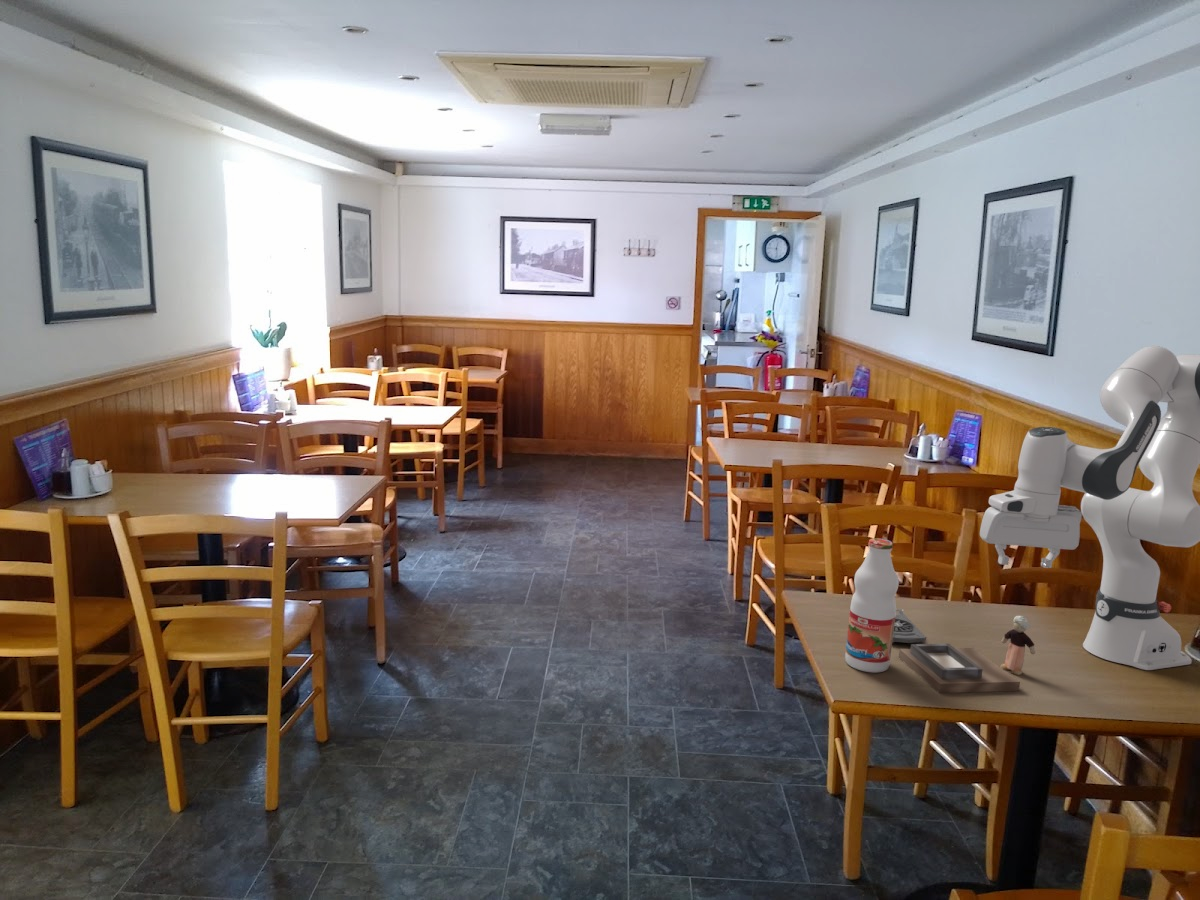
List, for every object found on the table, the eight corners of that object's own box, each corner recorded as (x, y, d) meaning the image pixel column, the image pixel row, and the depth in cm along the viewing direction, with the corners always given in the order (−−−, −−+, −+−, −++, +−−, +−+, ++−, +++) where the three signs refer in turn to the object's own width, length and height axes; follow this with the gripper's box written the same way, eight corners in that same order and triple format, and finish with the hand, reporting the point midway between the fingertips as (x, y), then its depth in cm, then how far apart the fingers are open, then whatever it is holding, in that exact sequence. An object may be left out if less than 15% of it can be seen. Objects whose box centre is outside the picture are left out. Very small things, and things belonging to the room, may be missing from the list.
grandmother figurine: (992, 667, 191) (1000, 613, 188) (999, 662, 193) (1007, 609, 191) (1028, 679, 185) (1037, 624, 183) (1035, 675, 188) (1044, 620, 185)
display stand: (972, 656, 196) (974, 639, 195) (1018, 690, 180) (1021, 672, 179) (898, 657, 193) (900, 640, 193) (938, 692, 177) (941, 674, 176)
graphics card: (856, 607, 215) (903, 608, 215) (854, 621, 216) (902, 622, 216) (879, 634, 199) (930, 635, 199) (877, 650, 199) (929, 650, 200)
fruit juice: (897, 666, 189) (912, 543, 183) (874, 677, 182) (889, 550, 177) (859, 651, 195) (872, 532, 190) (836, 662, 189) (849, 539, 184)
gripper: (1074, 503, 187) (1063, 564, 189) (981, 496, 186) (972, 557, 189) (1091, 510, 181) (1079, 573, 183) (995, 502, 180) (985, 566, 182)
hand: (1024, 565), depth 186 cm, fingers open, 8 cm apart
